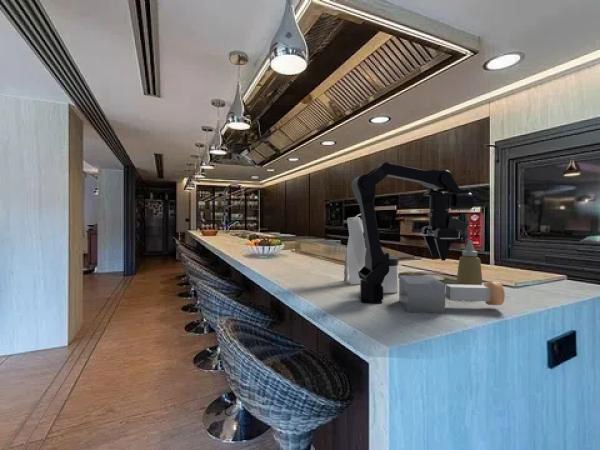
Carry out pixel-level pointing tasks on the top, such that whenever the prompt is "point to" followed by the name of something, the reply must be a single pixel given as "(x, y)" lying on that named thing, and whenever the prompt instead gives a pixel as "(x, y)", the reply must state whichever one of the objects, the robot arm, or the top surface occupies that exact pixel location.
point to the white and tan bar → (477, 293)
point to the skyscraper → (354, 251)
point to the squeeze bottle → (469, 267)
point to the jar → (391, 277)
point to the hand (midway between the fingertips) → (438, 258)
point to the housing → (422, 294)
